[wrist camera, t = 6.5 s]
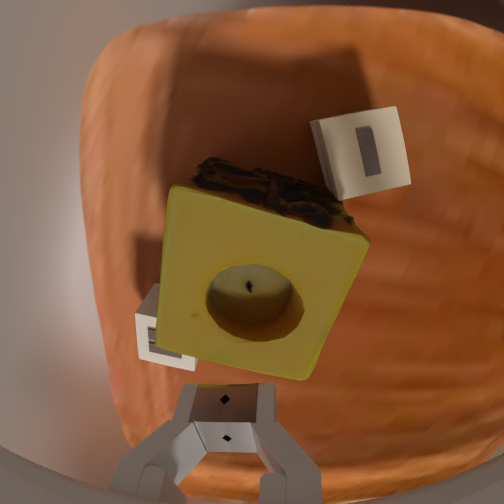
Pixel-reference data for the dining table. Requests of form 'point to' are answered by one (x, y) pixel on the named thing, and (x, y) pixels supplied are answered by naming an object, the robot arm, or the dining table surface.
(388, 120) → the beech block marked
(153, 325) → the cream block marked
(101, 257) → the dining table surface
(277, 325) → the candle
